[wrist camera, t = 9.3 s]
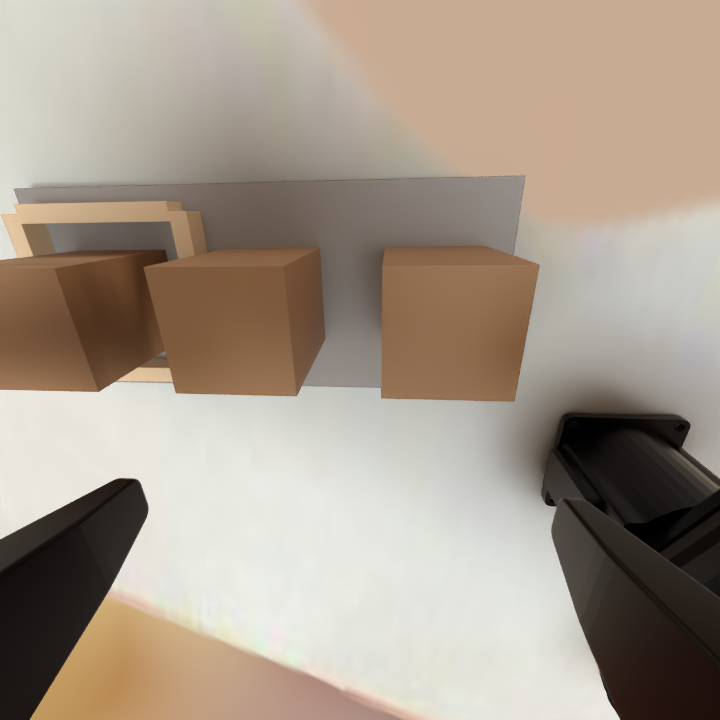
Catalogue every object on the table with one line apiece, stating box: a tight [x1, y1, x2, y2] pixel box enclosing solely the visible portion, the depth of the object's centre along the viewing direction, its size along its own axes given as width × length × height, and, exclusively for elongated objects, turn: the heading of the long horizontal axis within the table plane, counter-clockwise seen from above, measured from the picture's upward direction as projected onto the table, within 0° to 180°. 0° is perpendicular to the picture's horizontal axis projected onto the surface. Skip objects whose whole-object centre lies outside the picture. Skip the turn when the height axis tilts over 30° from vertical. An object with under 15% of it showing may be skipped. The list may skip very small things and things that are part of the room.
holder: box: [1, 176, 539, 401], centre depth 15 cm, size 23×10×7 cm, turn 91°
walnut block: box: [0, 250, 168, 392], centre depth 15 cm, size 4×4×6 cm
